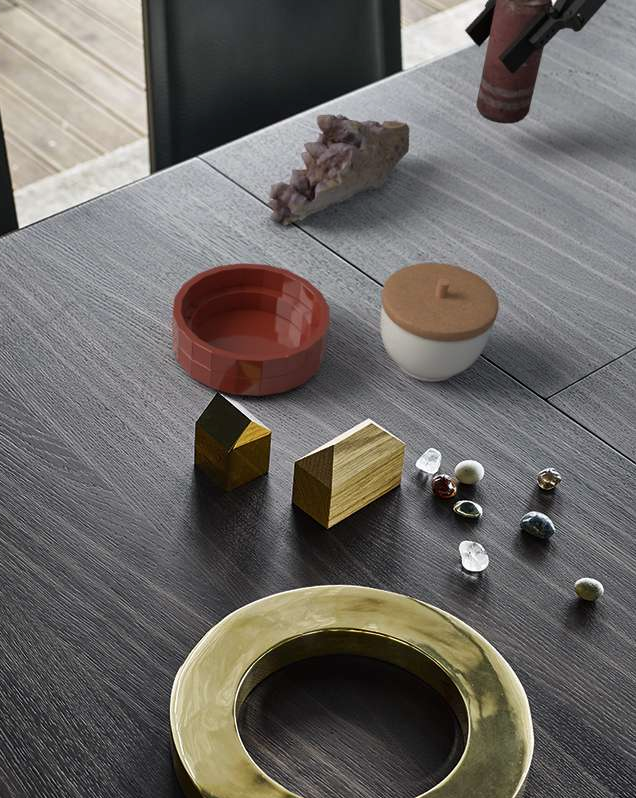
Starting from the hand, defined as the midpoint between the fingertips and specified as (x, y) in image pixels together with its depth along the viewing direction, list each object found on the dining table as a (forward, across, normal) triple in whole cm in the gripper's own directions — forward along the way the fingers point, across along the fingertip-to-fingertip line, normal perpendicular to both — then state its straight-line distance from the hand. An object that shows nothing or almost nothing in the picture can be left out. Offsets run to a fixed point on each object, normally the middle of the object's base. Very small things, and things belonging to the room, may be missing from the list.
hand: (488, 51), depth 139 cm
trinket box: (+27, -32, +8) cm, 42 cm away
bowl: (+37, -24, +20) cm, 48 cm away
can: (+3, 0, -8) cm, 9 cm away
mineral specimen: (+22, -3, +4) cm, 23 cm away
